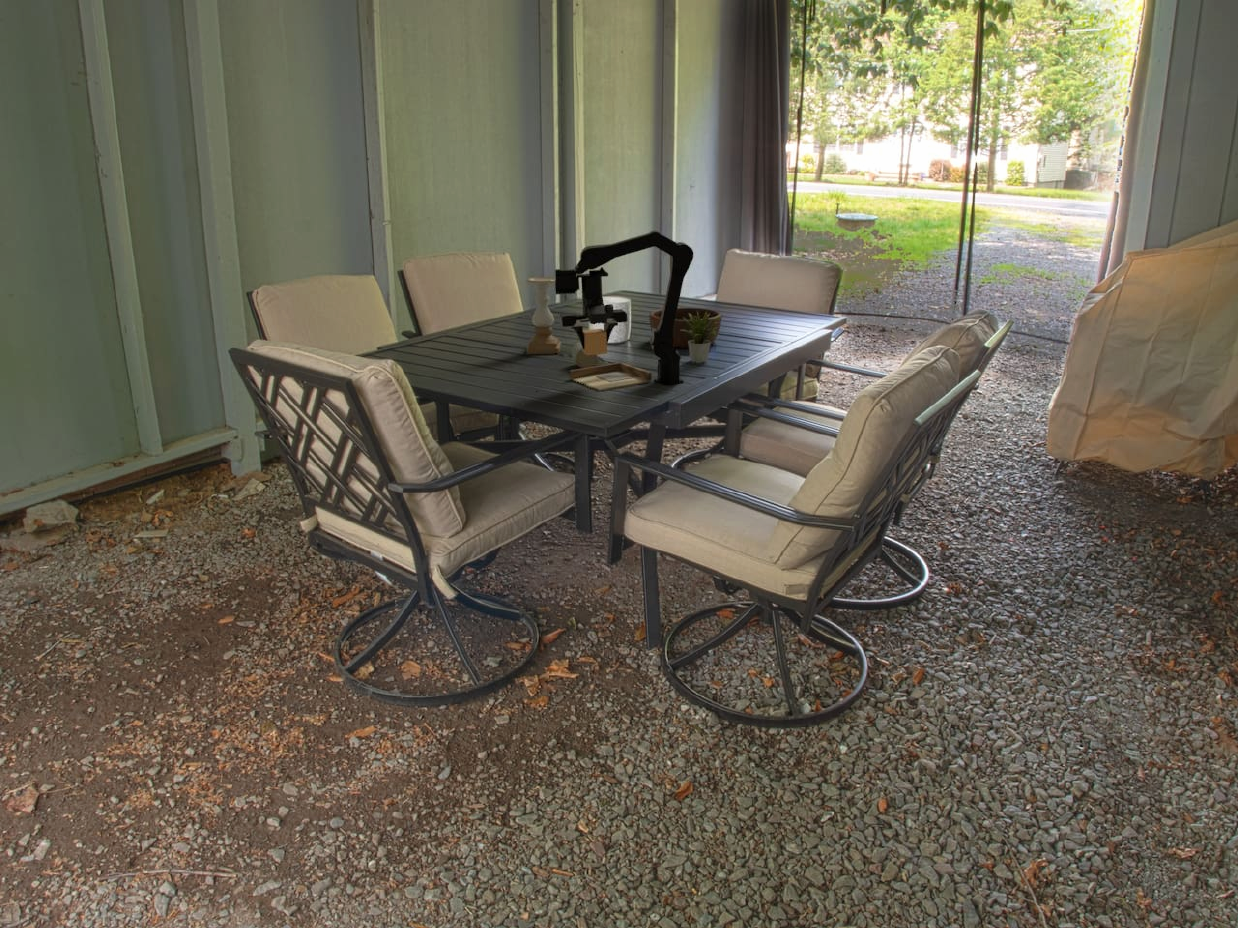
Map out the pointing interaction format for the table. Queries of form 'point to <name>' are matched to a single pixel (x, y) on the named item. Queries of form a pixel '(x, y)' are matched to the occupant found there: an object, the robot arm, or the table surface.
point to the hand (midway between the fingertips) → (594, 347)
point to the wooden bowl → (680, 323)
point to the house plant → (699, 337)
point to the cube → (595, 342)
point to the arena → (611, 376)
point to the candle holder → (542, 320)
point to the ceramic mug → (586, 358)
